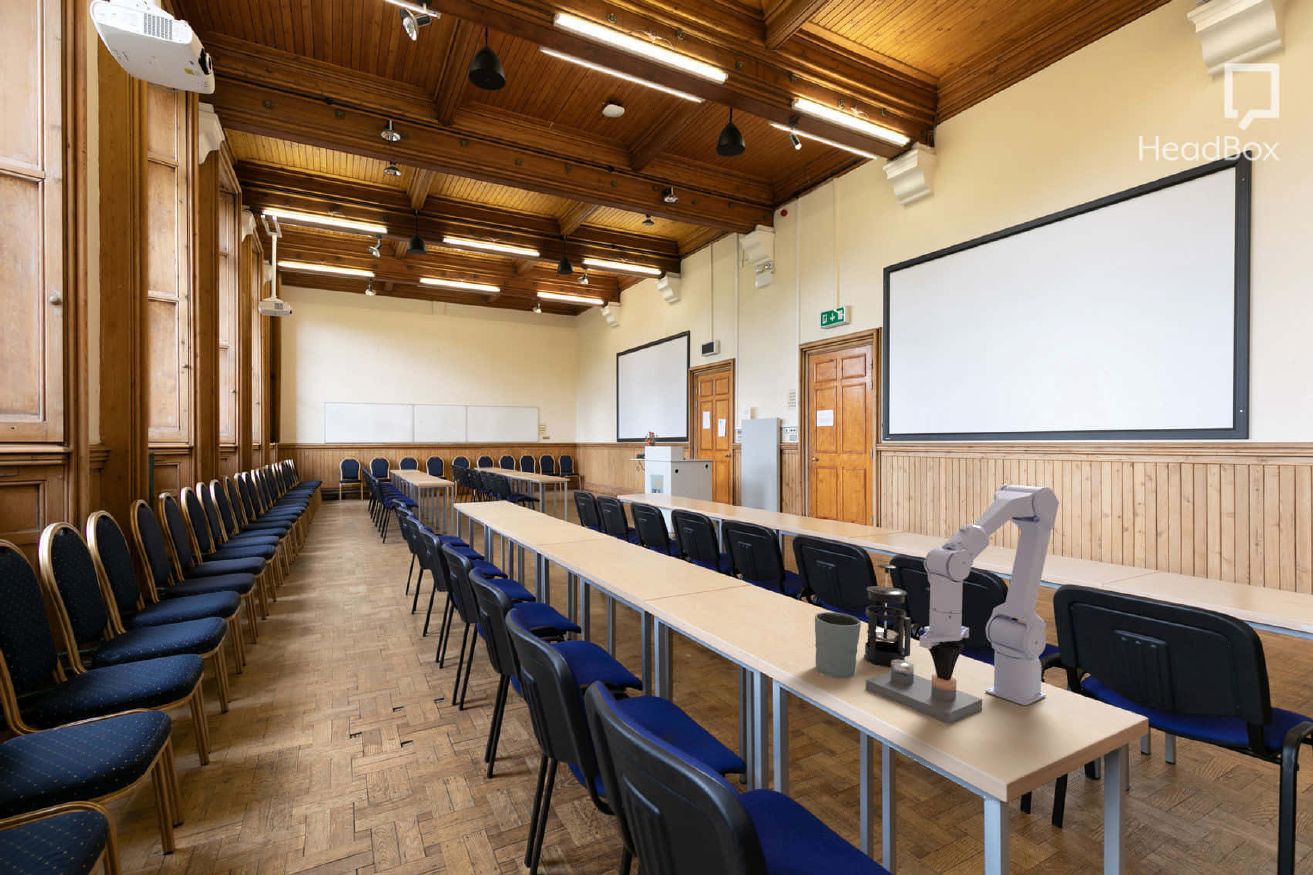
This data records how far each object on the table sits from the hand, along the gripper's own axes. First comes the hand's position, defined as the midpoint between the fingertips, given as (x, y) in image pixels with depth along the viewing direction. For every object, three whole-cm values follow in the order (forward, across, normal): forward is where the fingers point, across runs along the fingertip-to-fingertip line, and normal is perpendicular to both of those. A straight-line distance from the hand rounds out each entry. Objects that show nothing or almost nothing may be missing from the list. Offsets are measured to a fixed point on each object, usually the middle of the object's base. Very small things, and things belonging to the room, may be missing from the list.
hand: (943, 678), depth 117 cm
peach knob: (+6, 0, 0) cm, 6 cm away
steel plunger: (+6, 0, -9) cm, 11 cm away
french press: (+6, -13, -22) cm, 26 cm away
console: (+6, 0, -4) cm, 7 cm away
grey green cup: (+6, +3, -24) cm, 24 cm away
